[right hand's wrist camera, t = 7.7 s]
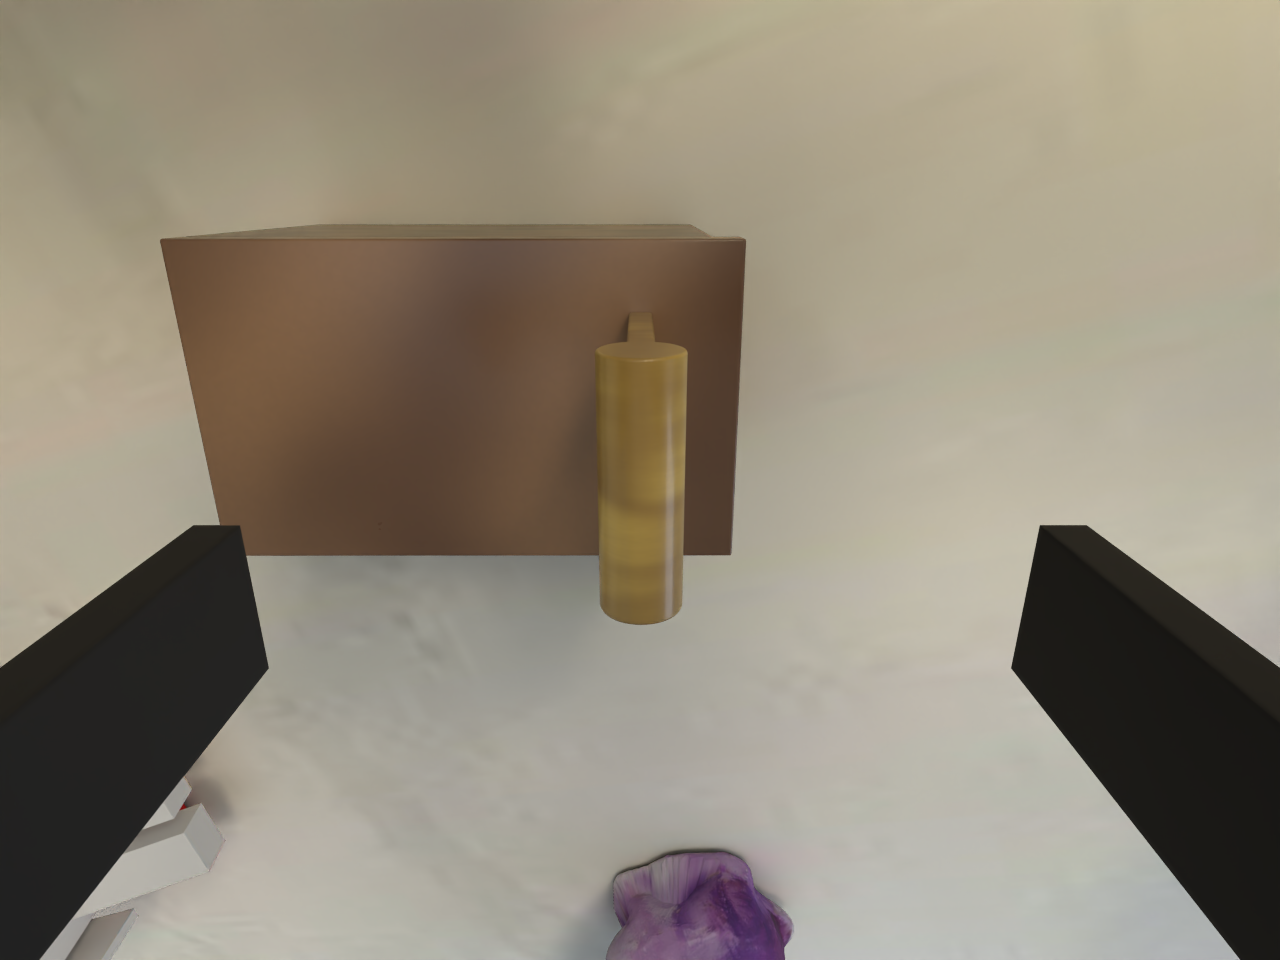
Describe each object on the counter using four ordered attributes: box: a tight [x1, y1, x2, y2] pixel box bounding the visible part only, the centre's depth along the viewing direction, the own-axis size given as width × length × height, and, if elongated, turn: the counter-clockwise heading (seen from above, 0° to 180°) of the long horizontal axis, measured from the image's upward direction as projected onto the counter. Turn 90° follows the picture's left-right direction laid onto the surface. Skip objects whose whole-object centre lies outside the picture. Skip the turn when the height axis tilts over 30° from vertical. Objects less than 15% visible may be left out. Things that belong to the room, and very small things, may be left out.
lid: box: [160, 237, 746, 625], centre depth 21 cm, size 17×10×9 cm, turn 90°
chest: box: [187, 225, 712, 237], centre depth 30 cm, size 16×10×10 cm, turn 90°
